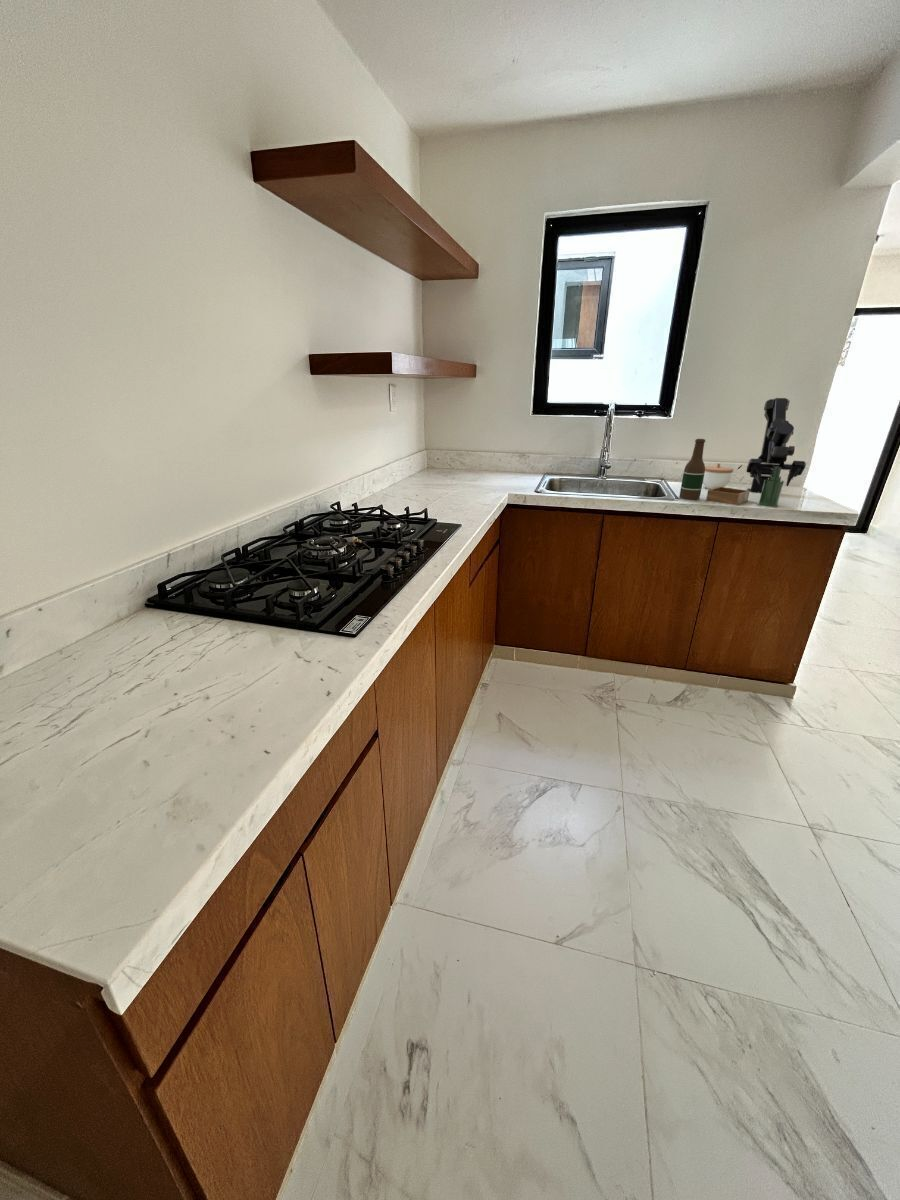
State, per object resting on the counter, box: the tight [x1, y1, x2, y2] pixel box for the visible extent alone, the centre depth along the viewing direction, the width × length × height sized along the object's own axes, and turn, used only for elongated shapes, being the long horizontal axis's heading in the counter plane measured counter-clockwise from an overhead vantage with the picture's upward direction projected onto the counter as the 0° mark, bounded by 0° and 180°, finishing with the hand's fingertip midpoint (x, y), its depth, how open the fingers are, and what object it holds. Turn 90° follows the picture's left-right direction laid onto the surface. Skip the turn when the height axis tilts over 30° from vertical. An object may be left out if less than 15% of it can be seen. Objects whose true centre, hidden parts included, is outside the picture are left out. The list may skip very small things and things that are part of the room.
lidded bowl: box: [702, 463, 734, 490], centre depth 229 cm, size 13×13×11 cm
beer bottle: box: [679, 438, 706, 501], centre depth 203 cm, size 8×8×24 cm
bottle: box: [758, 467, 785, 508], centre depth 193 cm, size 6×6×15 cm
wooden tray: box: [705, 486, 751, 506], centre depth 203 cm, size 12×12×4 cm
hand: (773, 484), depth 192 cm, fingers open, 9 cm apart
